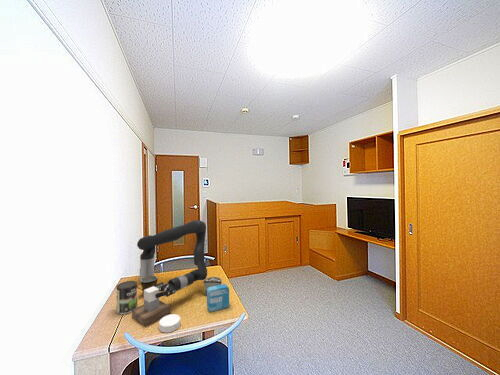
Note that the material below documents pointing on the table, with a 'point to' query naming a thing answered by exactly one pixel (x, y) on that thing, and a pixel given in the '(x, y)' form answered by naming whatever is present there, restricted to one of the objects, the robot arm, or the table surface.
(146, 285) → the ceramic cup
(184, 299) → the table surface
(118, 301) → the coffee can
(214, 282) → the food container
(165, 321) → the coaster
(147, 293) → the block
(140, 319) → the walnut stand
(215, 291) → the data package
